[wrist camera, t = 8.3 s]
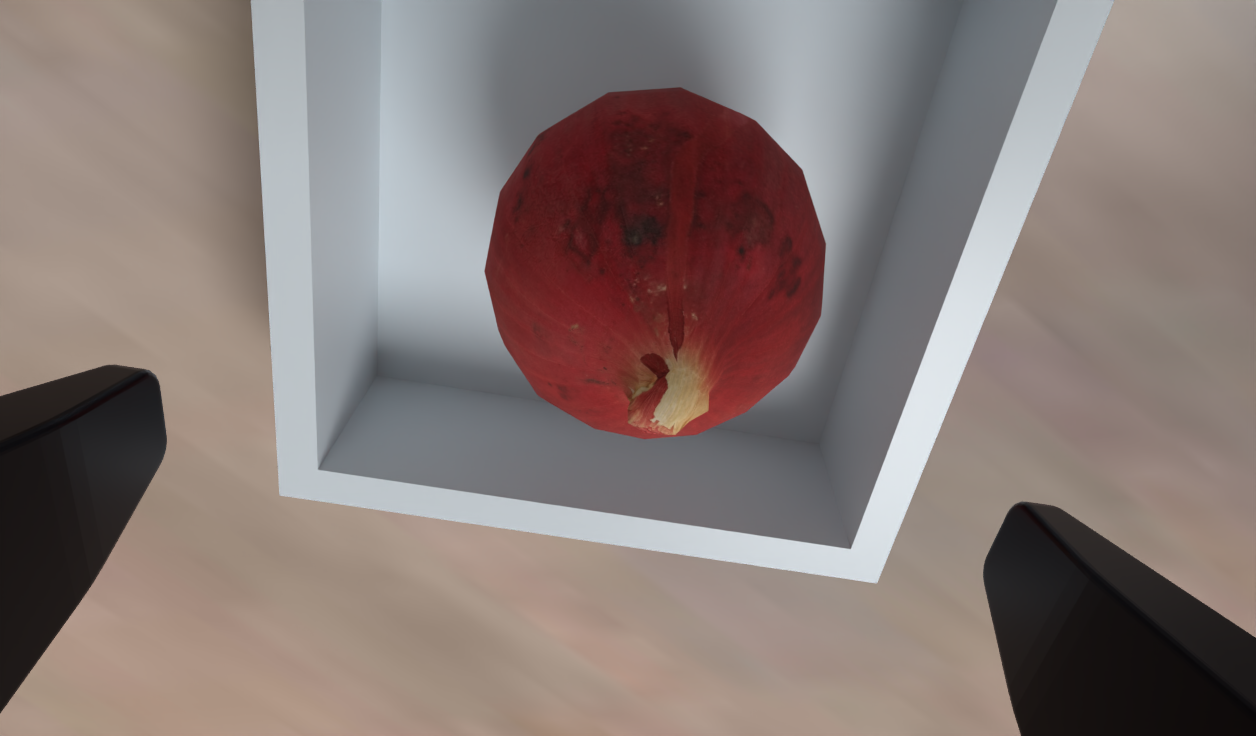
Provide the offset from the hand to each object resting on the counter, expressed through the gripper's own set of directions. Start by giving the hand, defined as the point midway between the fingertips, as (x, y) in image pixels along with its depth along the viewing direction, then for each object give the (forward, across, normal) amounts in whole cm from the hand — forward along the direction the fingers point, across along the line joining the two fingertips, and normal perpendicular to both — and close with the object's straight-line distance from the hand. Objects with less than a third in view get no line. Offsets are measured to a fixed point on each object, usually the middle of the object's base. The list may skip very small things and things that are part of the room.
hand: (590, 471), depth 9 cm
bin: (+11, 0, 0) cm, 11 cm away
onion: (+10, 0, 0) cm, 10 cm away
